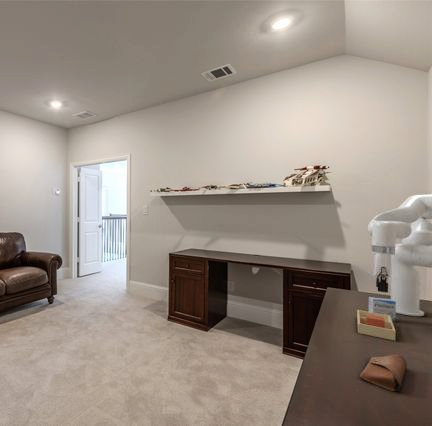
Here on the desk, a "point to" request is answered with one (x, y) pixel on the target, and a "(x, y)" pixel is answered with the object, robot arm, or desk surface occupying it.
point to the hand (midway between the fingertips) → (381, 289)
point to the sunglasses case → (385, 371)
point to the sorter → (385, 332)
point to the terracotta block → (375, 321)
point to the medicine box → (383, 306)
